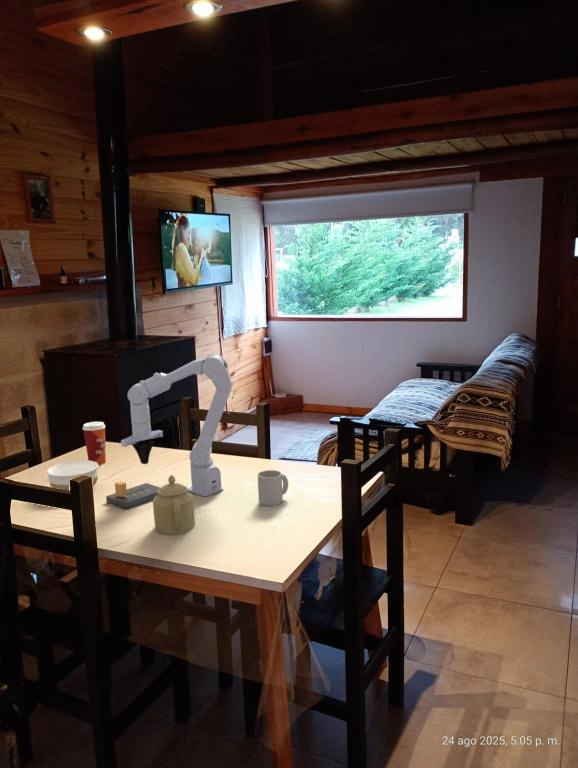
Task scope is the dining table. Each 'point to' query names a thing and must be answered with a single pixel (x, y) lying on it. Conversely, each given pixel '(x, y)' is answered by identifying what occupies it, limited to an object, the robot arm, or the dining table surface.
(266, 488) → the cup
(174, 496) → the sugar bowl
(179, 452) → the dining table surface
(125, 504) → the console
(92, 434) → the coffee cup
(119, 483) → the fader
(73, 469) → the bowl
